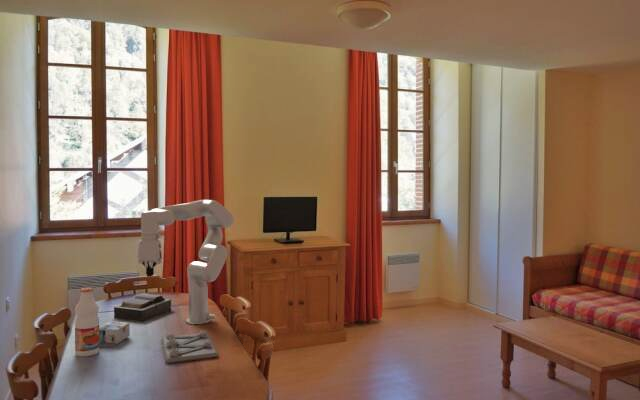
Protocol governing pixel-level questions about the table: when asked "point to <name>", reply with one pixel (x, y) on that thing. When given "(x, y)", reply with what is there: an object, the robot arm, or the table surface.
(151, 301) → the dark grey open box
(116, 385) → the table surface
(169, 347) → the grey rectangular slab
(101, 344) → the mat
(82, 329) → the fruit juice
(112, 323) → the light bulb box
